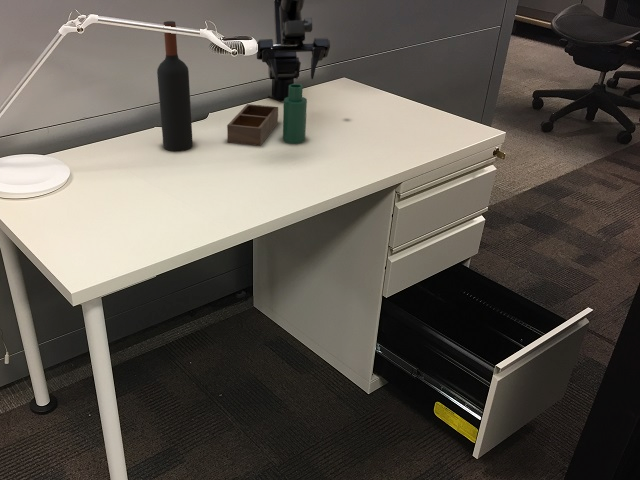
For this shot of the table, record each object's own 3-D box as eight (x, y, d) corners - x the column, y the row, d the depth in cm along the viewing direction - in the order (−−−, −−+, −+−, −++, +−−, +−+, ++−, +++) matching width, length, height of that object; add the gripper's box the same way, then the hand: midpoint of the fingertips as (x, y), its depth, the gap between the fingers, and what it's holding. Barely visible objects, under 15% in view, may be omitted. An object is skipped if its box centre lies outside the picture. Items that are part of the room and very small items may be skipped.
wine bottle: (157, 148, 171) (146, 24, 153) (173, 138, 176) (164, 17, 159) (182, 153, 168) (174, 27, 150) (198, 143, 173) (191, 20, 156)
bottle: (278, 139, 175) (279, 85, 167) (294, 133, 178) (296, 80, 170) (293, 145, 171) (295, 91, 163) (309, 140, 174) (312, 86, 166)
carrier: (247, 120, 187) (247, 103, 184) (277, 123, 184) (278, 106, 182) (227, 142, 173) (227, 125, 171) (260, 145, 171) (260, 128, 168)
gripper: (257, 6, 167) (260, 64, 165) (331, 4, 168) (335, 62, 165) (255, 30, 178) (258, 85, 176) (324, 28, 179) (328, 83, 176)
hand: (294, 79), depth 173 cm, fingers open, 9 cm apart
